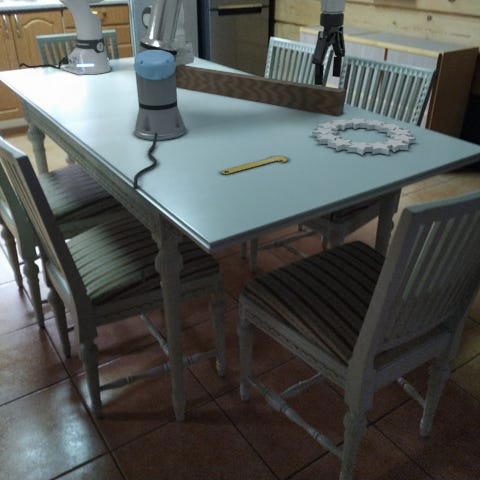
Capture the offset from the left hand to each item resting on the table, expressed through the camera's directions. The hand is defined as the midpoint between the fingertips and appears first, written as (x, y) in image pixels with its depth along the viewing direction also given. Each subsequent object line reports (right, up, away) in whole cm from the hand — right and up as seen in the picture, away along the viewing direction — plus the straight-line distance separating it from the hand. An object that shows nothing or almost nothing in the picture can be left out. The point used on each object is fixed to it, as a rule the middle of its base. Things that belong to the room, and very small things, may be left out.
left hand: (176, 78), depth 211 cm
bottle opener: (+30, -47, -74) cm, 93 cm away
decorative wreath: (+63, -36, -55) cm, 91 cm away
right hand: (+56, -12, -36) cm, 67 cm away
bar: (+28, -12, -15) cm, 34 cm away
